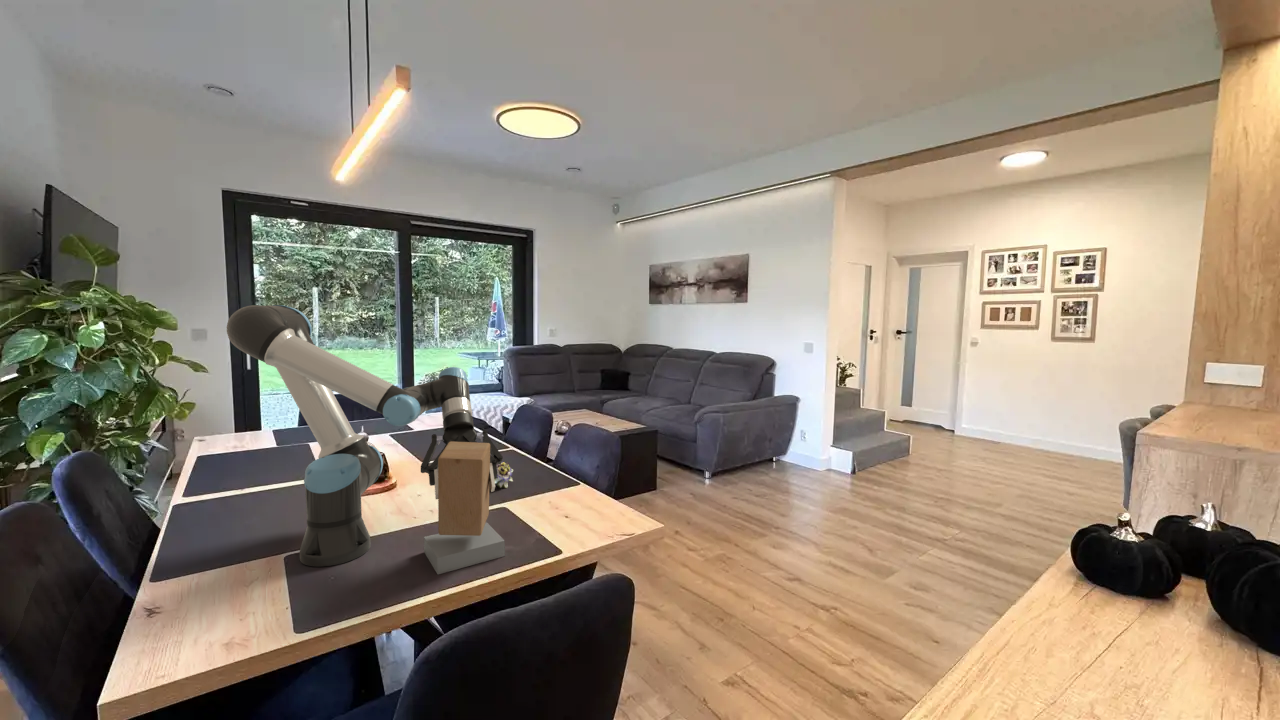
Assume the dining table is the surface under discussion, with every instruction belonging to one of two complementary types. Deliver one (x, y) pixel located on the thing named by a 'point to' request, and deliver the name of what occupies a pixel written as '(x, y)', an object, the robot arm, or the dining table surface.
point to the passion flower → (503, 475)
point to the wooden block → (463, 488)
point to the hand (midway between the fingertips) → (466, 492)
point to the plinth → (463, 549)
